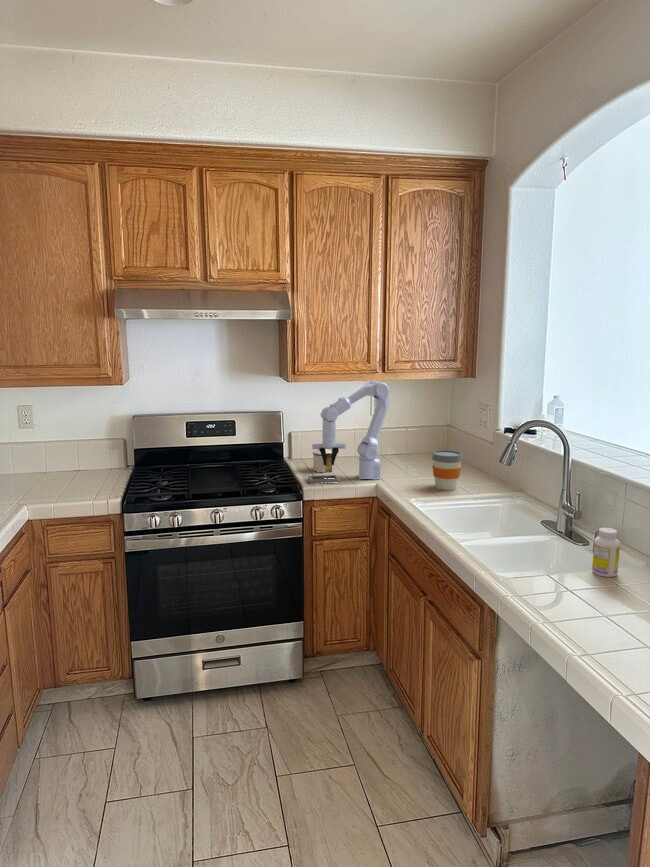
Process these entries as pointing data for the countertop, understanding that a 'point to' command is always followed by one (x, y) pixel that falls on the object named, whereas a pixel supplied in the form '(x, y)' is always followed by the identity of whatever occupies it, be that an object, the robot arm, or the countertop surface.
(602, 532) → the supplement bottle
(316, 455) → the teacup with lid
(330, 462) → the peg
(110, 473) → the countertop surface
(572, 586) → the countertop surface
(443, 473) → the reusable coffee cup
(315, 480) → the keyhole plate
